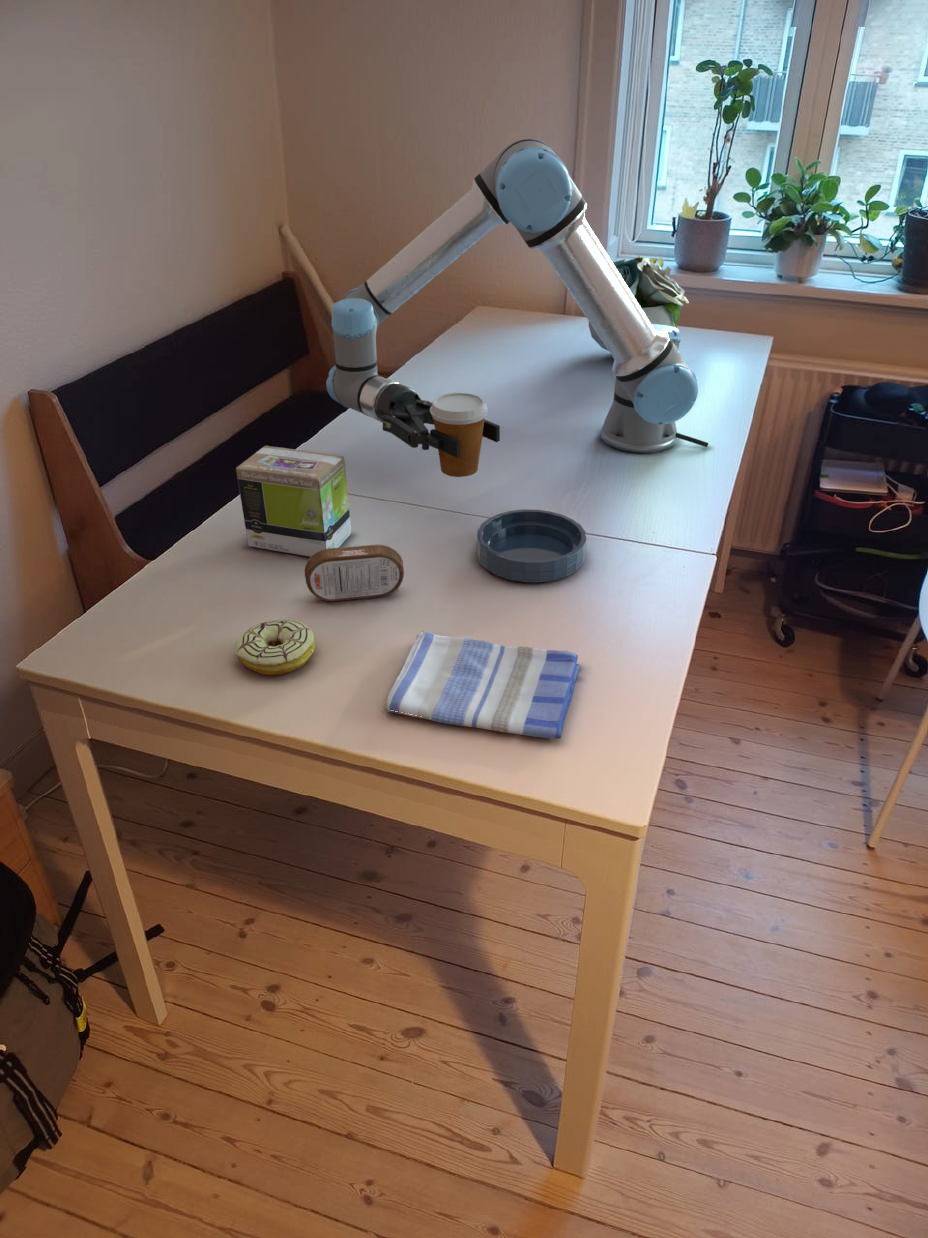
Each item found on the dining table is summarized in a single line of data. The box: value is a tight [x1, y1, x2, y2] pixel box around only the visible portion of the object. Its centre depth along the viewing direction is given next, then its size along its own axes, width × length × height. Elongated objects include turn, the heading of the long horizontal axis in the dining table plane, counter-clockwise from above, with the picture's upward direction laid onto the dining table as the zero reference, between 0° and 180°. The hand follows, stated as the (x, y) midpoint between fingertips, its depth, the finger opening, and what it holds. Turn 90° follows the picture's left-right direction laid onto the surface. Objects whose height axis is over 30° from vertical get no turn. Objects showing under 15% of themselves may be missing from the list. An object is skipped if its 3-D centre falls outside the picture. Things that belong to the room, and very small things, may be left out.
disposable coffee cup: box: [430, 391, 489, 478], centre depth 156 cm, size 10×10×12 cm
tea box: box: [235, 445, 352, 558], centre depth 155 cm, size 15×10×15 cm
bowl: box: [476, 508, 587, 583], centre depth 154 cm, size 18×18×4 cm
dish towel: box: [385, 630, 581, 740], centre depth 125 cm, size 17×24×3 cm
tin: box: [303, 544, 405, 602], centre depth 143 cm, size 15×3×8 cm, turn 100°
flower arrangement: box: [588, 255, 690, 360], centre depth 229 cm, size 25×25×24 cm
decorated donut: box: [234, 619, 316, 676], centre depth 131 cm, size 10×11×4 cm
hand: (478, 441), depth 153 cm, fingers closed on disposable coffee cup, 8 cm apart
